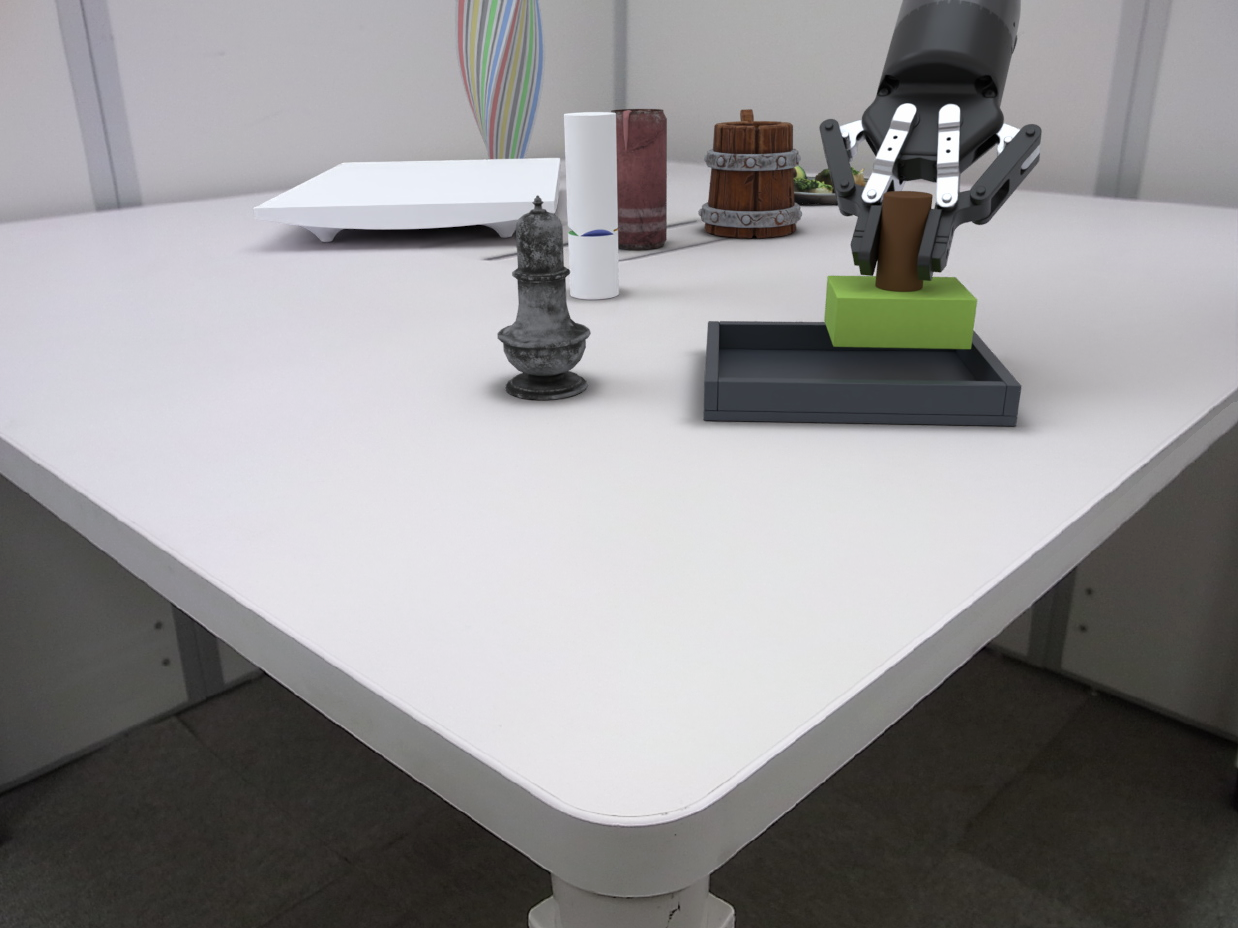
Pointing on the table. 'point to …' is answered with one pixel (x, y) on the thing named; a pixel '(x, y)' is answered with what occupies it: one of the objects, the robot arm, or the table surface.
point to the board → (417, 195)
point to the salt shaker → (543, 314)
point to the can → (641, 178)
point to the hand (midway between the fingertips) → (894, 269)
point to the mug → (751, 179)
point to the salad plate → (819, 186)
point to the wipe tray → (849, 379)
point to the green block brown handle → (900, 291)
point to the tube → (592, 204)
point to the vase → (502, 70)
